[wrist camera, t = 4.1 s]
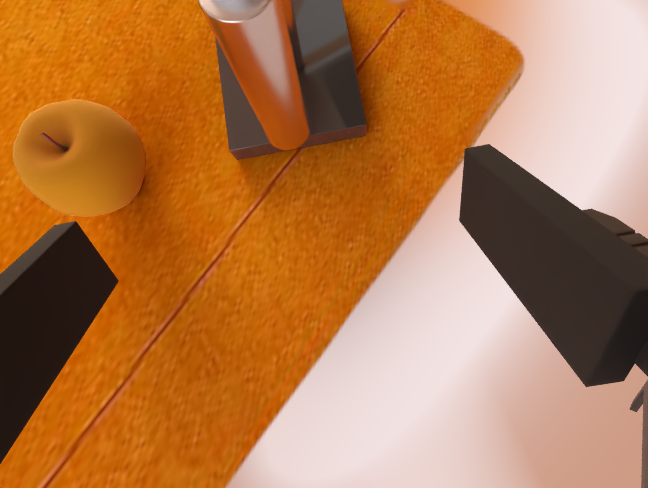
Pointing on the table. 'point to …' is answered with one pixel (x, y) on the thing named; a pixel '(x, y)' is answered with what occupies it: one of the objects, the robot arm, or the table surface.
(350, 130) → the tap base
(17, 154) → the apple
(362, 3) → the table surface
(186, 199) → the table surface
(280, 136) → the spout
